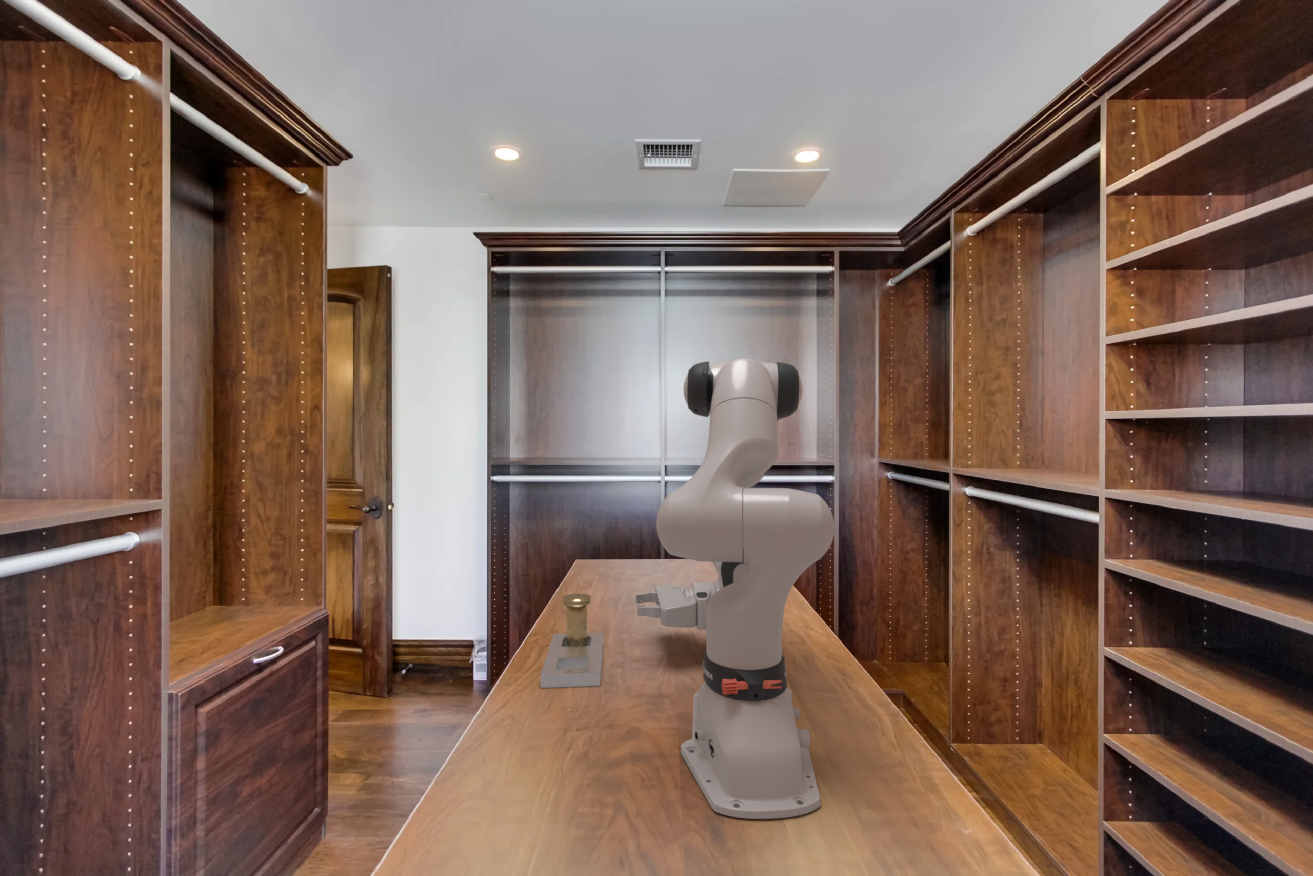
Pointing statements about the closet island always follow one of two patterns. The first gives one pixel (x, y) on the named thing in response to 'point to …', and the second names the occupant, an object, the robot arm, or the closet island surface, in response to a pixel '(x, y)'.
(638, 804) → the closet island surface
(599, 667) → the plate
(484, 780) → the closet island surface
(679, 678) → the closet island surface
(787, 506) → the robot arm
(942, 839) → the closet island surface
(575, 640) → the brass capped peg
